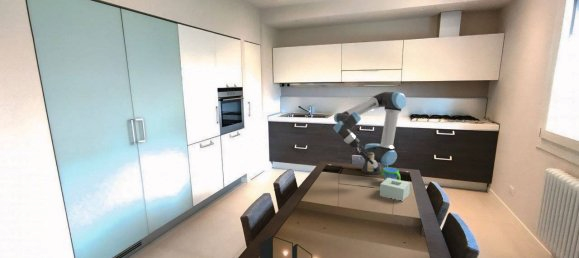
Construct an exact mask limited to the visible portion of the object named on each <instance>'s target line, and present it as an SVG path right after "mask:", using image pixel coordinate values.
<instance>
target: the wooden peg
mask: <svg viewBox="0 0 579 258" xmlns="http://www.w3.org/2000/svg"><path fill="white" fill-rule="evenodd" d="M368 156H369V157H370V158H371V159H372V160H373V161H374V153H371V152H369V153H368ZM373 170H374V167H373V166H372V165H371V164H370V163H369V162H368V165H367V171H373Z"/></svg>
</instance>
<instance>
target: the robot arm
mask: <svg viewBox="0 0 579 258" xmlns="http://www.w3.org/2000/svg"><path fill="white" fill-rule="evenodd" d="M406 105H407V97H406V96H405V94H404V93H402V92H399V91H383V92H380V93H377V94H375V95H374V96H373V95H372V96H371V97H370V98H369V99H368V100H366V101H364V102H362V103H361V102H360V103H359V104H357V105H355V106H354V107H351V108H349V109H347V110H345V111H343V112H337V113H335V114H334V116H333V120H334V122H335V123H336V124H335V125H334V126H333V128H332V129H333V130H334V131H335V132H336V134H338V136H340V138H342V139H343V141H344V142H345V143H346V144H348V146H349V147H350V148H351V149H353V148H355V150H356V152H357V153H358V154H359V155H360V156H362V158H363V159H364V163H363V165H362V167H361V172H362V173H364V174H367V175H381V171H382V166H381V164H382V165H386V166H391V165H393V164H394V163H395V162H396V161H397V158H398V154H397V152H396V149H395V146H394V141H395V136H396V132H397V131H396V130H397V125H398V118H399V114H400V113H401V112H402V109H404V108H405V107H406ZM379 108H384V111H385V117H384V123H383V130H382V135H381V142H380V143H374V142H373V143H366V144H365V146H362V145H363V144H360V142H361V140H360V139H359V138H358V137H357V136H356V135H355V134H354V133H353V131H351V130H352V129H353V128H354V127H355V126H357V125H358V124H359V122H360V121H361V119H362V118H361V117H362V114H363V115H364V114H366V113H368V112H370V111H371V110H374V109H379ZM369 152H371V153H374V161H373V160H372V159H371V158H370V157H369V156H368V153H369ZM368 162H369V163H370V164H371V165H372V166H373V167H374V170H373V171H367V165H368Z"/></svg>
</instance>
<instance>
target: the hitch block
mask: <svg viewBox="0 0 579 258" xmlns="http://www.w3.org/2000/svg"><path fill="white" fill-rule="evenodd" d="M379 186H380V187H379V197H381V198H386V199H390V198H392V199H391V200H394V199H396V200H395V201H398V200H401V201H403V200H404V199H405V198H406V197H409V195H410V191H411V190H410V188H411V182H410V181H406V180H405V181H404V180H398V179H397V180H396V179H392V178H387V179H386V180H385V181H384V180H383V181H382V182H381V183H380V185H379ZM406 199H407V198H406ZM406 199H405V200H406ZM405 200H404V201H405ZM401 201H400V202H401ZM404 201H403V202H404Z"/></svg>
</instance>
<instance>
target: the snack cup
mask: <svg viewBox="0 0 579 258" xmlns="http://www.w3.org/2000/svg"><path fill="white" fill-rule="evenodd" d="M380 176H381V177H383V181H385V180H386V179H387V178H392V179H396V180H401V174H400V170H399V169H398V168H397V167H390V166H389V167H387V166H386V167H383V168H381V173H380ZM401 181H402V180H401Z"/></svg>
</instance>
